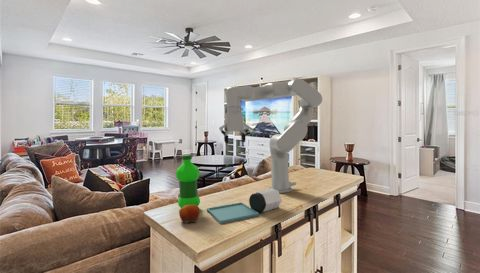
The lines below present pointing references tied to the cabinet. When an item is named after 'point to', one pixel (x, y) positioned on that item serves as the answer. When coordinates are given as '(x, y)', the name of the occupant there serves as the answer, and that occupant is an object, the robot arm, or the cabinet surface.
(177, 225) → the cabinet surface
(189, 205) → the fruit
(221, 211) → the tray
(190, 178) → the plastic bottle
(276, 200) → the jar
